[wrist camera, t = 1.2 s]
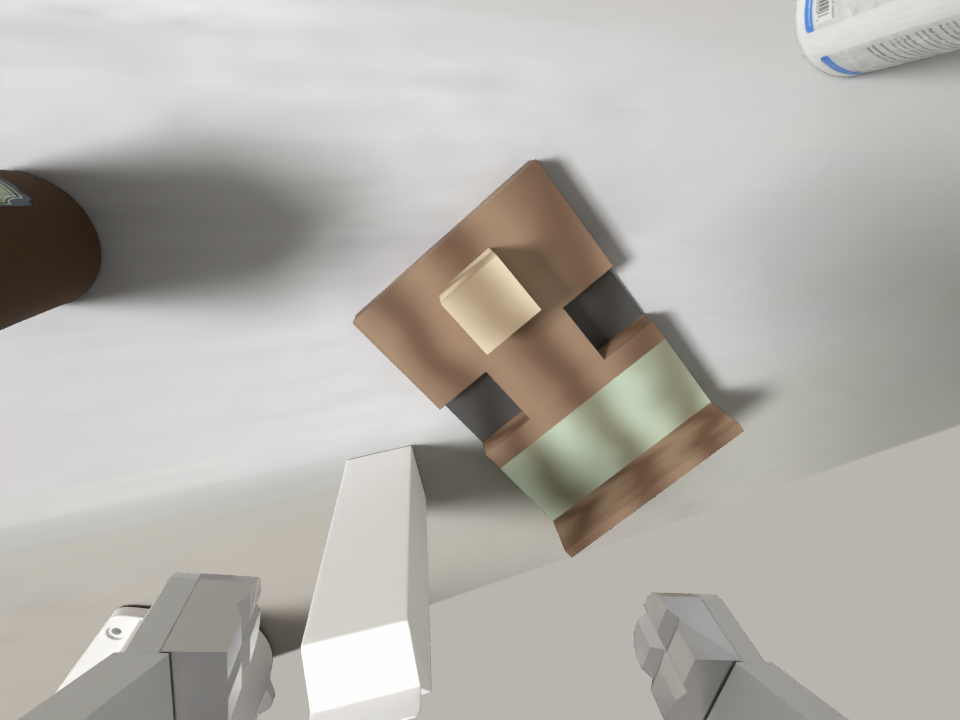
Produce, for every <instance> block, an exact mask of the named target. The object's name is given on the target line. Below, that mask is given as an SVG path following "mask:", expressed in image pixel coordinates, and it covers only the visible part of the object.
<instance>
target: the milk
mask: <svg viewBox="0 0 960 720" xmlns="http://www.w3.org/2000/svg"><path fill="white" fill-rule="evenodd" d="M301 654H302V660H303V666H304V673H305V680H306V687H307V693H308V700H309V705H310V719H309V720H407V719H411V718H415V717H416V716H418V714H419V713H420V710H421V695H422V694H426V693H430V692H431V657H430V622H429V586H428V552H427V517H426V496H425V493H424V489H423V486H422V482H421V478H420V475H419V471H418V467H417V464H416V460H415V457H414V453H413V449H412V446H407V447H403V448H398V449H394V450H389V451H385V452H381V453H376V454H372V455H367V456H363V457H359V458H354V459H350V460H347V462H346V466H345V470H344V475H343V479H342V483H341V487H340V491H339V495H338V499H337V503H336V507H335V511H334V515H333V519H332V523H331V527H330V531H329V535H328V539H327V543H326V547H325V551H324V555H323V559H322V563H321V567H320V571H319V575H318V579H317V583H316V588H315V592H314V596H313V600H312V604H311V608H310V612H309V616H308V620H307V624H306V628H305V632H304V636H303V640H302V644H301Z"/></svg>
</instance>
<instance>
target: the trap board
mask: <svg viewBox="0 0 960 720" xmlns="http://www.w3.org/2000/svg"><path fill="white" fill-rule="evenodd" d="M488 248H489V249H491V250H492V251H493V252H494V253H495V254H496V255H497V256H498V258H499V259H500V260H501V261H502V262H503V264H504V265H505V266H506V267H507V268H508V270H509V271H510V272H511V273H512V275H513V276H514V277H515V278H516V279H517V281H518V282H519V283H520V284H521V286H522V287H523V288H524V289H525V290H526V292H527V293H528V294H529V295H530V297H531V298H532V299H533V300H534V301H535V303H536V304H537V305H538V306H539V308H540V309H541V311H539V312H538V313H537V314H536V315H535V316H533V317H532V318H531V319H530V320H529V321H527V322H526V323H525V324H524V325H523V326H521V327H520V328H519V329H518V330H517V331H515V332H514V333H513V334H512V335H511V336H509V337H508V338H507V339H506V340H505V341H503V342H502V343H501V344H500V345H499V346H497V347H496V348H495V349H494V350H493V351H491V352H490V353H489V354H488V355H487V354H486V353H485V352H484V351H483V350H482V349H481V348H480V347H479V345H478V344H477V343H476V342H475V341H474V340H473V339H472V338H471V337H470V336H469V334H468V333H467V332H466V331H465V330H464V329H463V328H462V327H461V326H460V325H459V324H458V322H457V321H456V320H455V319H454V318H453V317H452V316H451V315H450V314H449V313H448V311H447V310H446V309H445V308H444V307H443V306H442V305H441V302H440V297H439V291H440V290H441V289H442V288H443V287H444V286H445V285H447V284H448V283H449V282H450V281H451V280H452V279H453V278H455V277H456V276H457V275H458V274H459V273H460V272H461V271H463V270H464V269H465V268H466V267H467V266H468V265H469V264H471V263H472V262H473V261H474V260H475V259H476V258H477V257H479V256H480V255H481V254H482V253H483V252H484V251H485V250H487V249H488ZM611 267H613V265H612V264H611V263H610V261H609V260H608V258H607V257H606V256H605V254H604V253H603V252H602V250H601V249H600V247H599V246H598V245H597V243H596V242H595V240H594V239H593V238H592V236H591V235H590V233H589V232H588V231H587V229H586V228H585V227H584V225H583V224H582V222H581V221H580V220H579V218H578V217H577V215H576V214H575V213H574V211H573V210H572V208H571V207H570V206H569V204H568V203H567V202H566V200H565V199H564V197H563V196H562V195H561V193H560V192H559V190H558V189H557V188H556V186H555V185H554V183H553V182H552V181H551V179H550V178H549V177H548V175H547V174H546V172H545V171H544V170H543V168H542V167H541V165H540V164H539V163H538V161H537V160H531V161H528V162H527V163H526V164H525V165H523V166H522V167H521V168H520V169H519V170H518V171H517V172H516V173H515V174H513V175H512V176H511V177H510V178H509V179H508V180H507V181H506V182H504V183H503V184H502V185H501V186H500V187H499V188H498V189H497V190H495V191H494V192H493V193H492V194H491V195H490V196H489V197H488V198H487V199H485V200H484V201H483V202H482V203H481V204H480V205H479V206H478V207H476V208H475V209H474V210H473V211H472V212H471V213H470V214H469V215H467V216H466V217H465V218H464V219H463V220H462V221H461V222H460V223H458V224H457V225H456V226H455V227H454V228H453V229H452V230H451V231H450V232H448V233H447V234H446V235H445V236H444V237H443V238H442V239H441V240H439V241H438V242H437V243H436V244H435V245H434V246H433V247H432V248H430V249H429V250H428V251H427V252H426V253H425V254H424V255H423V256H422V257H420V258H419V259H418V260H417V261H416V262H415V263H414V264H413V265H411V266H410V267H409V268H408V269H407V270H406V271H405V272H404V273H402V274H401V275H400V276H399V277H398V278H397V279H396V280H395V281H393V282H392V283H391V284H390V285H389V286H388V287H387V288H386V289H385V290H383V291H382V292H381V293H380V294H379V295H378V296H377V297H376V298H374V299H373V300H372V301H371V302H370V303H369V304H368V305H367V306H365V307H364V308H363V309H362V310H361V311H360V312H359V313H358V314H357V315H356V316H355V319H354V321H353V324H354V325H355V326H356V327H357V328H358V329H359V330H360V331H361V332H362V333H363V334H364V335H365V336H366V337H367V338H368V339H369V340H370V341H371V342H372V343H373V344H374V345H375V346H376V347H377V348H378V349H379V350H380V351H381V352H382V353H383V354H384V355H385V356H386V357H387V358H388V359H389V360H390V361H391V362H392V363H393V364H394V365H395V366H396V367H397V368H398V369H399V370H400V371H401V372H402V373H404V374H405V375H406V376H407V377H408V378H409V379H410V380H411V381H412V382H413V383H414V384H415V385H416V386H417V387H418V388H419V389H420V390H421V391H422V392H423V393H424V394H425V395H426V396H427V397H428V398H429V399H430V400H431V401H432V402H433V403H434V404H435V405H436V406H437V407H438V408H439V409H441V408H443V407H444V406H445V405H446V406H447V407H448V408H449V409H450V410H451V411H452V412H453V413H454V414H455V415H456V416H457V417H458V418H459V419H460V420H461V421H462V422H463V423H464V424H465V425H466V426H467V427H468V428H469V429H470V430H471V431H472V432H473V433H474V434H475V435H476V436H477V437H478V438H479V439H480V440H481V441H482V442H483V445H484V449H485V453H486V455H487V456H488V457H489V458H490V459H491V460H492V461H493V462H494V463H495V464H496V465H497V466H498V467H499V468H500V469H501V470H502V471H503V472H504V473H505V474H506V475H507V476H508V477H509V478H510V479H511V480H512V481H513V482H514V483H515V484H516V485H517V486H518V487H519V488H520V489H521V490H522V491H523V492H524V493H525V494H526V495H527V496H528V497H529V498H530V499H531V500H532V501H533V502H534V503H535V504H536V505H537V506H538V507H539V508H540V509H541V510H542V511H544V512H545V513H546V514H547V515H548V516H549V517H550V518H551V519H552V520H553V522H554V524H555V527H556V529H557V532H558V534H559V537H560V539H561V542H562V544H563V547H564V549H565V551H566V552H567V553H568V554H569V555H570V556H571V557H573V556H575V555H576V554H577V553H579V552H580V551H582V550H583V549H584V548H586V547H587V546H588V545H590V544H591V543H592V542H594V541H595V540H596V539H598V538H599V537H601V536H602V535H603V534H605V533H606V532H607V531H609V530H610V529H611V528H613V527H614V526H615V525H617V524H618V523H620V522H621V521H622V520H624V519H625V518H626V517H628V516H629V515H630V514H632V513H633V512H634V511H636V510H637V509H639V508H640V507H641V506H643V505H644V504H645V503H647V502H648V501H649V500H651V499H652V498H653V497H655V496H656V495H658V494H659V493H660V492H662V491H663V490H664V489H666V488H667V487H668V486H670V485H671V484H673V483H674V482H675V481H677V480H678V479H679V478H681V477H682V476H683V475H685V474H686V473H687V472H689V471H690V470H692V469H693V468H694V467H696V466H697V465H698V464H700V463H701V462H702V461H704V460H705V459H706V458H708V457H709V456H711V455H712V454H713V453H715V452H716V451H717V450H719V449H720V448H721V447H723V446H724V445H725V444H727V443H728V442H730V441H731V440H732V439H734V438H735V437H736V436H738V435H739V434H740V433H742V432H743V431H744V430H743V429H742V427H741V426H740V424H739V423H738V422H737V421H735V420H734V419H733V418H731V417H730V416H729V415H727V414H726V413H725V412H723V411H722V410H721V409H719V408H718V407H717V406H716V405H714V404H713V403H712V402H711V401H710V400H709V399H708V397H707V396H706V395H705V393H704V392H703V390H702V389H701V388H700V386H699V385H698V383H697V382H696V381H695V379H694V378H693V376H692V375H691V374H690V372H689V371H688V370H687V368H686V367H685V365H684V364H683V363H682V361H681V360H680V358H679V357H678V356H677V354H676V353H675V351H674V350H673V349H672V347H671V346H670V345H669V343H668V342H667V340H666V339H665V338H664V336H663V335H662V333H661V332H660V331H659V329H658V328H657V326H656V325H655V324H654V322H653V321H651V320H650V319H648V318H646V317H645V316H643V315H642V314H641V313H640V312H639V310H638V309H637V307H636V306H635V305H634V303H633V302H632V301H631V299H630V298H629V296H628V295H627V294H626V292H625V291H624V290H623V288H622V287H621V285H620V284H619V283H618V281H617V280H616V279H615V277H614V276H613V274H612V273H611V272H610V270H609V269H610V268H611Z"/></svg>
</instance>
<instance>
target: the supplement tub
mask: <svg viewBox="0 0 960 720" xmlns="http://www.w3.org/2000/svg"><path fill="white" fill-rule="evenodd" d="M795 24H796V33H797V38H798V41H799V44H800V47H801V49H802V51H803V53H804V55H805V56H806V58H807V59H808V60H809V61H810V62H811V63H812V64H813V65H814V66H816V67H817V68H818V69H820V70H821V71H823V72H825V73H828V74H830V75H834V76H840V77H849V76H856V75H860V74H864V73H869V72H873V71H877V70H881V69H885V68H889V67H892V66H897V65H901V64H905V63H909V62H913V61H916V60H920V59H924V58H929V57H933V56H936V55H940V54H944V53H948V52H952V51H956V50H960V0H797V4H796V14H795Z"/></svg>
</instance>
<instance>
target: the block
mask: <svg viewBox="0 0 960 720" xmlns="http://www.w3.org/2000/svg"><path fill="white" fill-rule="evenodd" d="M439 297H440V302H441V305H442V306H443V307H444V308H445V309H446V310H447V311H448V313H449V314H450V315H451V316H452V317H453V318H454V319H455V320H456V321H457V322H458V324H459V325H460V326H461V327H462V328H463V329H464V330H465V331H466V332H467V333H468V334H469V336H470V337H471V338H472V339H473V340H474V341H475V342H476V343H477V344H478V345H479V347H480V348H481V349H482V350H483V351H484V352H485V353H486V354H487V355H488V354H489V353H490V352H491V351H493V350H494V349H495V348H496V347H497V346H499V345H500V344H501V343H502V342H503V341H505V340H506V339H507V338H508V337H509V336H511V335H512V334H513V333H514V332H515V331H517V330H518V329H519V328H520V327H521V326H523V325H524V324H525V323H526V322H527V321H529V320H530V319H531V318H532V317H533V316H535V315H536V314H537V313H538V312H539V311H541V309H540V308H539V306H538V305H537V304H536V303H535V301H534V300H533V299H532V298H531V297H530V295H529V294H528V293H527V292H526V290H525V289H524V288H523V287H522V286H521V284H520V283H519V282H518V281H517V279H516V278H515V277H514V276H513V275H512V273H511V272H510V271H509V270H508V268H507V267H506V266H505V265H504V264H503V262H502V261H501V260H500V259H499V258H498V256H497V255H496V254H495V253H494V252H493V251H492V250H491V249H489V248H488V249H487V250H485V251H484V252H483V253H482V254H481V255H480V256H479V257H477V258H476V259H475V260H474V261H473V262H472V263H471V264H469V265H468V266H467V267H466V268H465V269H464V270H463V271H461V272H460V273H459V274H458V275H457V276H456V277H455V278H453V279H452V280H451V281H450V282H449V283H448V284H447V285H445V286H444V287H443V288H442V289H441V290H440V291H439Z"/></svg>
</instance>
